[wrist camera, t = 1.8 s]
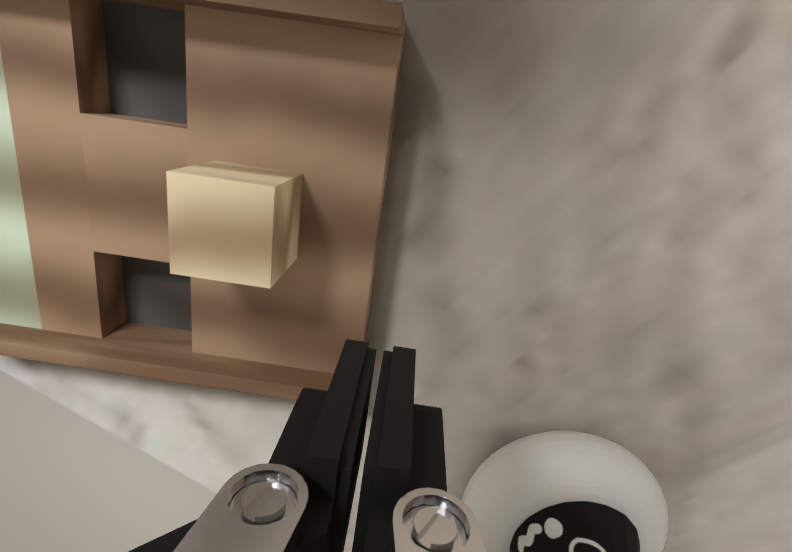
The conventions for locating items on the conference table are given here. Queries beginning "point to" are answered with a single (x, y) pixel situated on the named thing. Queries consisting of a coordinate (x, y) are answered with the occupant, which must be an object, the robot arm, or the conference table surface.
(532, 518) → the decorative figurine
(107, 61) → the box
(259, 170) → the maple block
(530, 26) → the conference table surface
